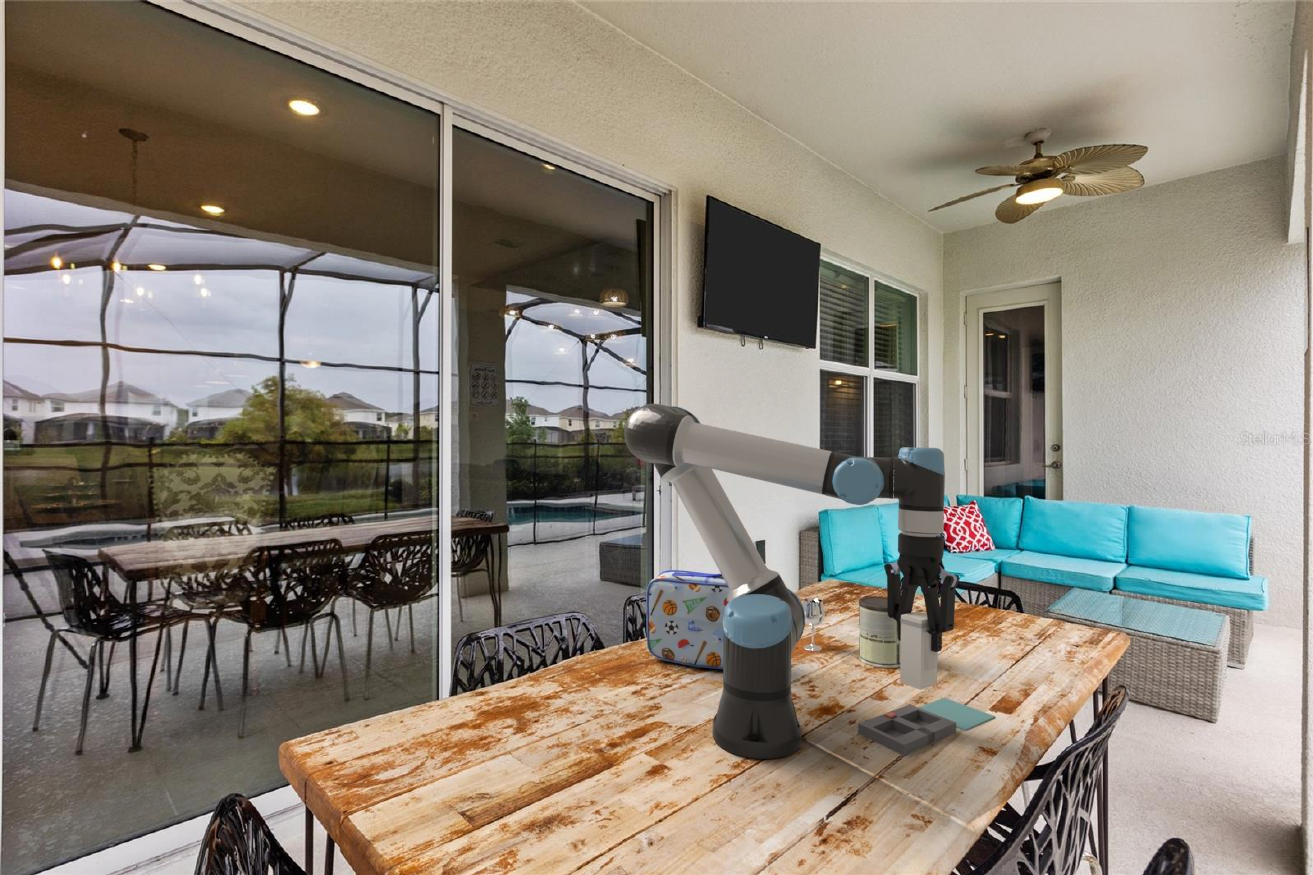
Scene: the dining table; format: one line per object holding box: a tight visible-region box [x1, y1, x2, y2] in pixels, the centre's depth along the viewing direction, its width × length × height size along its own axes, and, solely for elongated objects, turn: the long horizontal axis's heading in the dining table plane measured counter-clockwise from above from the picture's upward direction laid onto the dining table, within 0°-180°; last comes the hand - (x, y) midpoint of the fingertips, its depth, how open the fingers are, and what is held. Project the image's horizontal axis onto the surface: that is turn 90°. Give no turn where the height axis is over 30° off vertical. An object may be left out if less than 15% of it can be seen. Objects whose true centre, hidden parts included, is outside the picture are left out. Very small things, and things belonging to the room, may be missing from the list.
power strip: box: [857, 704, 957, 756], centre depth 107 cm, size 15×9×3 cm, turn 123°
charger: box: [899, 610, 938, 691], centre depth 109 cm, size 5×4×12 cm
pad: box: [917, 697, 996, 732], centre depth 115 cm, size 10×10×1 cm
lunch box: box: [645, 569, 729, 670], centre depth 143 cm, size 28×10×22 cm, turn 71°
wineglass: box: [802, 597, 826, 652], centre depth 154 cm, size 6×6×12 cm
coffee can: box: [858, 596, 901, 669], centre depth 145 cm, size 10×10×14 cm
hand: (918, 664), depth 109 cm, fingers closed on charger, 4 cm apart
